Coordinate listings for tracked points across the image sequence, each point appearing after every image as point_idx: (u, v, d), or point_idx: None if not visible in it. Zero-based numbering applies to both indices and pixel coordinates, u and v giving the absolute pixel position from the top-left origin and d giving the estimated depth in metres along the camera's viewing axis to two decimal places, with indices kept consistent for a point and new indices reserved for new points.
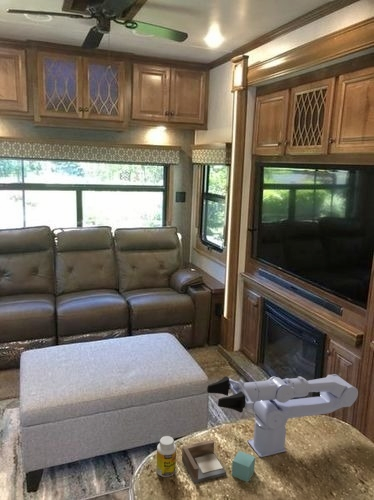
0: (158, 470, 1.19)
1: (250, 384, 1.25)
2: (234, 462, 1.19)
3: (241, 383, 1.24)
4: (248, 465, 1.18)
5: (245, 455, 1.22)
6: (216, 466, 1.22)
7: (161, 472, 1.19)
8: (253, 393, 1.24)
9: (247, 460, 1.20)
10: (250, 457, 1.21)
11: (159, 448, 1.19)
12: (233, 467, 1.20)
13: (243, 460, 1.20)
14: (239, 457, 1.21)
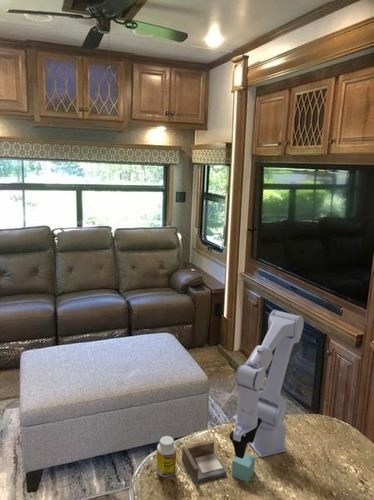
0: (158, 470, 1.19)
1: None
2: (234, 462, 1.19)
3: None
4: (248, 465, 1.18)
5: (245, 455, 1.22)
6: (216, 466, 1.22)
7: (161, 472, 1.19)
8: (240, 415, 1.16)
9: (247, 460, 1.20)
10: (250, 457, 1.21)
11: (159, 448, 1.19)
12: (233, 467, 1.20)
13: (243, 460, 1.20)
14: None
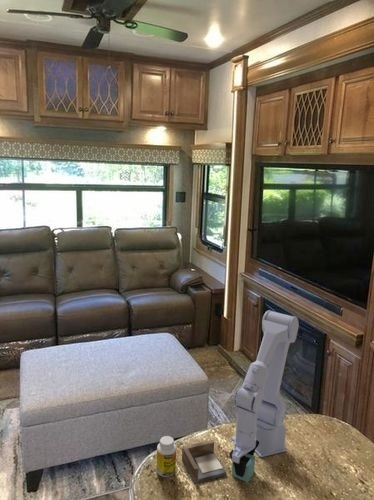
0: (158, 470, 1.19)
1: None
2: None
3: None
4: (248, 465, 1.18)
5: (245, 454, 1.22)
6: (216, 466, 1.22)
7: (161, 472, 1.19)
8: (238, 436, 1.17)
9: None
10: (250, 457, 1.21)
11: (159, 448, 1.19)
12: (233, 467, 1.20)
13: None
14: None
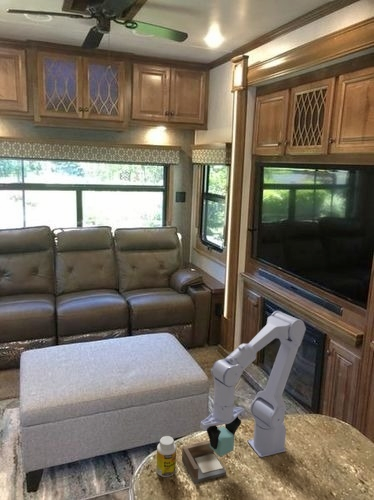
0: (158, 470, 1.19)
1: None
2: None
3: None
4: (221, 439, 1.18)
5: (226, 431, 1.21)
6: (216, 466, 1.22)
7: (161, 472, 1.19)
8: (213, 407, 1.18)
9: (223, 436, 1.19)
10: (229, 434, 1.20)
11: (159, 448, 1.19)
12: None
13: (220, 434, 1.20)
14: None
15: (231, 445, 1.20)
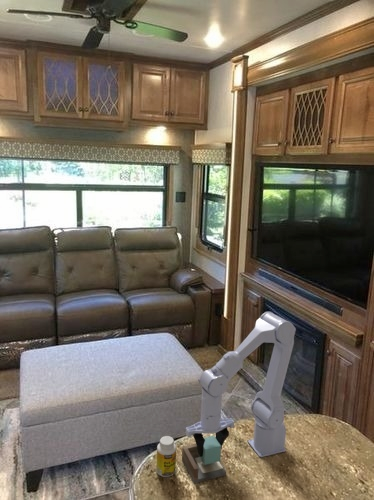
0: (158, 470, 1.19)
1: None
2: None
3: None
4: (206, 448, 1.19)
5: (214, 440, 1.23)
6: (216, 466, 1.22)
7: (161, 472, 1.19)
8: (201, 415, 1.20)
9: (210, 445, 1.21)
10: (216, 444, 1.21)
11: (159, 448, 1.19)
12: None
13: (207, 443, 1.22)
14: (207, 439, 1.23)
15: (217, 455, 1.21)
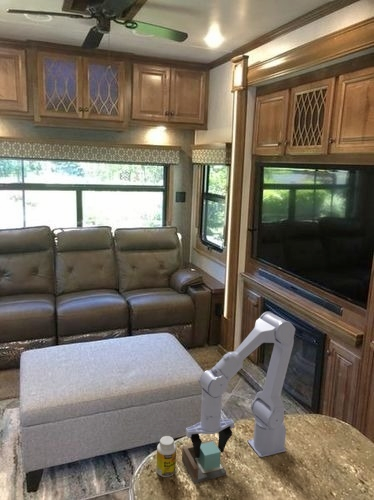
0: (158, 470, 1.19)
1: None
2: None
3: None
4: (206, 454, 1.20)
5: (214, 446, 1.23)
6: None
7: (161, 472, 1.19)
8: (201, 416, 1.20)
9: (210, 451, 1.21)
10: (215, 450, 1.22)
11: (159, 448, 1.19)
12: None
13: (207, 448, 1.22)
14: (207, 445, 1.24)
15: (217, 461, 1.21)
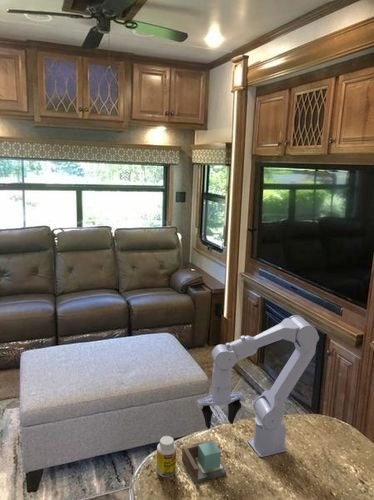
0: (158, 470, 1.19)
1: None
2: (199, 446, 1.23)
3: None
4: (206, 454, 1.20)
5: (214, 446, 1.23)
6: None
7: (161, 472, 1.19)
8: None
9: (210, 451, 1.21)
10: (215, 450, 1.22)
11: (159, 448, 1.19)
12: (198, 451, 1.24)
13: (207, 448, 1.22)
14: (207, 445, 1.24)
15: (217, 461, 1.21)
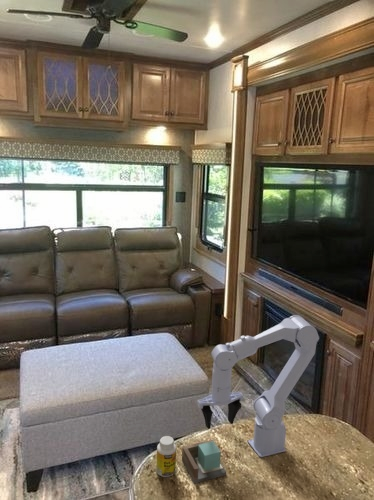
0: (158, 470, 1.19)
1: None
2: (199, 446, 1.23)
3: None
4: (206, 454, 1.20)
5: (214, 446, 1.23)
6: None
7: (161, 472, 1.19)
8: None
9: (210, 451, 1.21)
10: (215, 450, 1.22)
11: (159, 448, 1.19)
12: (198, 451, 1.24)
13: (207, 448, 1.22)
14: (207, 445, 1.24)
15: (217, 461, 1.21)
